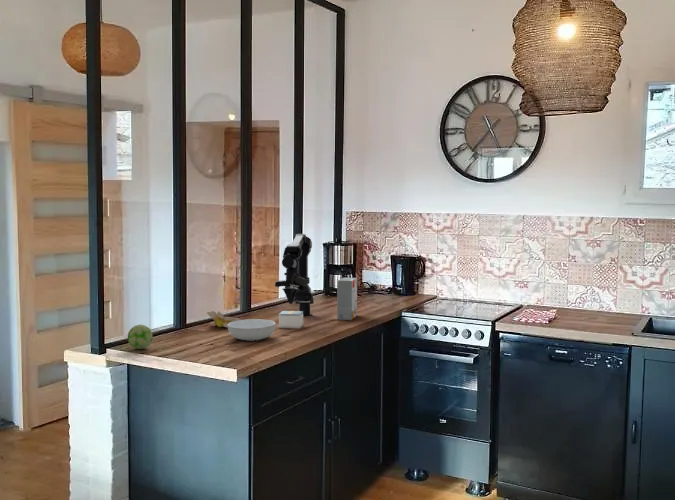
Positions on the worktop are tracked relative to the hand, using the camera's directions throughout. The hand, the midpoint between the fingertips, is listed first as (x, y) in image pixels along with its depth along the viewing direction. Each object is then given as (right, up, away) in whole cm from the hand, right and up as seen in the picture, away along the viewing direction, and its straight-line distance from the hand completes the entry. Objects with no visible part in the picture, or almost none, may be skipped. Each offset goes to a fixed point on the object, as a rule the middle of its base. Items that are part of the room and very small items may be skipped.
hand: (290, 303), depth 324 cm
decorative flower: (-32, -11, +2) cm, 34 cm away
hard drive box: (+27, -9, +26) cm, 39 cm away
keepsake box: (0, -11, +2) cm, 11 cm away
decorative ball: (-58, -15, -46) cm, 75 cm away
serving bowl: (-15, -13, -26) cm, 33 cm away
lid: (0, -5, +1) cm, 5 cm away
